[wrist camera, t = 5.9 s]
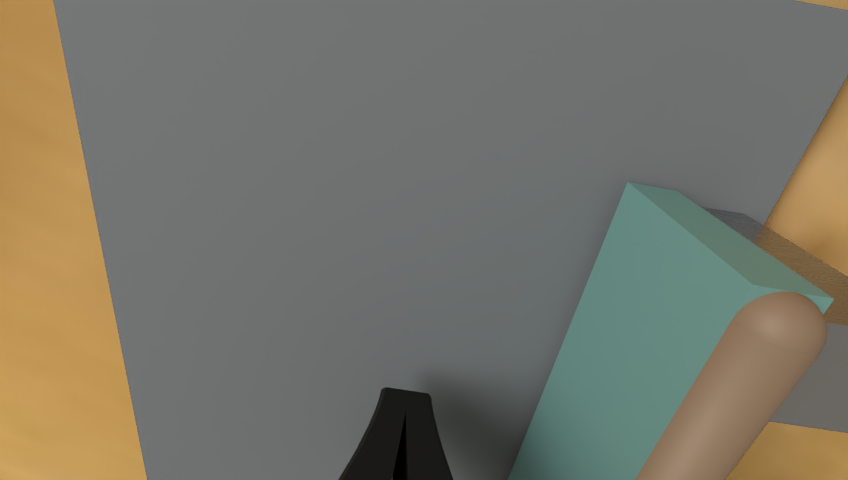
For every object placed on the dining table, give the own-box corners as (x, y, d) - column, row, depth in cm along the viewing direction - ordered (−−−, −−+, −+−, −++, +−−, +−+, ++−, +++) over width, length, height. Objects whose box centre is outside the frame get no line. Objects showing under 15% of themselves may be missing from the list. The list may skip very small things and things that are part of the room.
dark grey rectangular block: (696, 270, 12) (871, 436, 7) (627, 259, 12) (757, 419, 7) (730, 205, 11) (957, 343, 6) (655, 192, 11) (825, 322, 6)
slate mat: (563, 560, 18) (566, 576, 18) (164, 507, 18) (155, 521, 17) (854, 17, 9) (880, 16, 9) (51, -132, 9) (24, -144, 8)
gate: (532, 504, 15) (571, 706, 11) (499, 499, 15) (524, 700, 11) (677, 190, 10) (872, 325, 6) (627, 182, 10) (784, 310, 5)
